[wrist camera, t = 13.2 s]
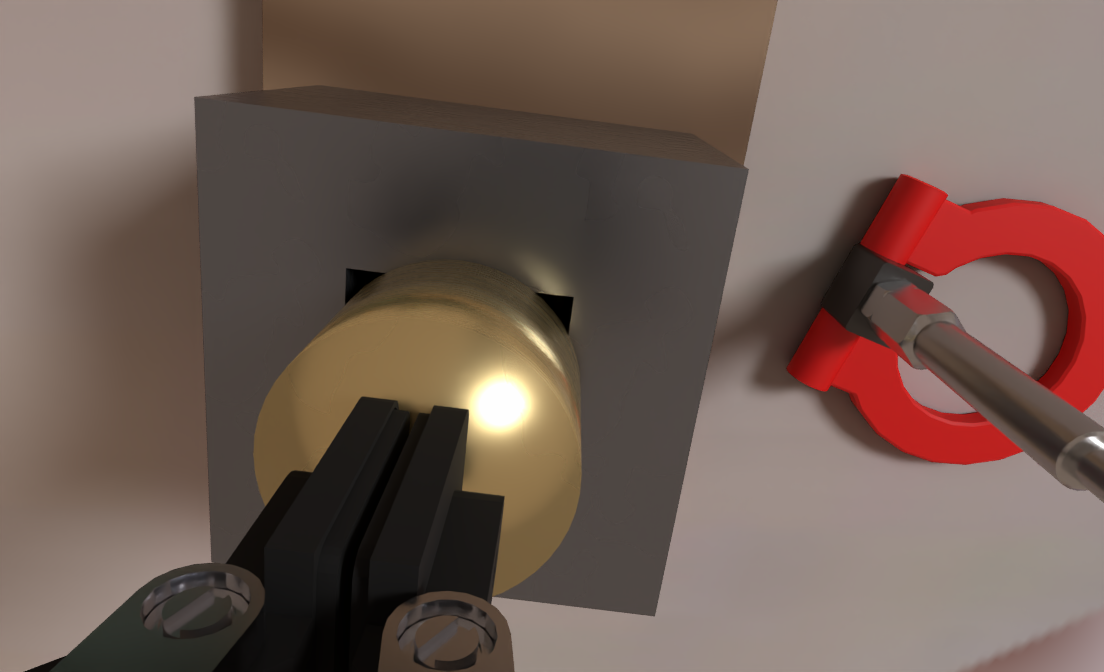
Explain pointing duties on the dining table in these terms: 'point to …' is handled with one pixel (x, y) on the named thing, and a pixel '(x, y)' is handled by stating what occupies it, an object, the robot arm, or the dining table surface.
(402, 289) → the brass pin
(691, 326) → the hitch block
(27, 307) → the dining table surface
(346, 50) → the mount plate
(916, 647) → the dining table surface
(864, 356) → the tow hook
